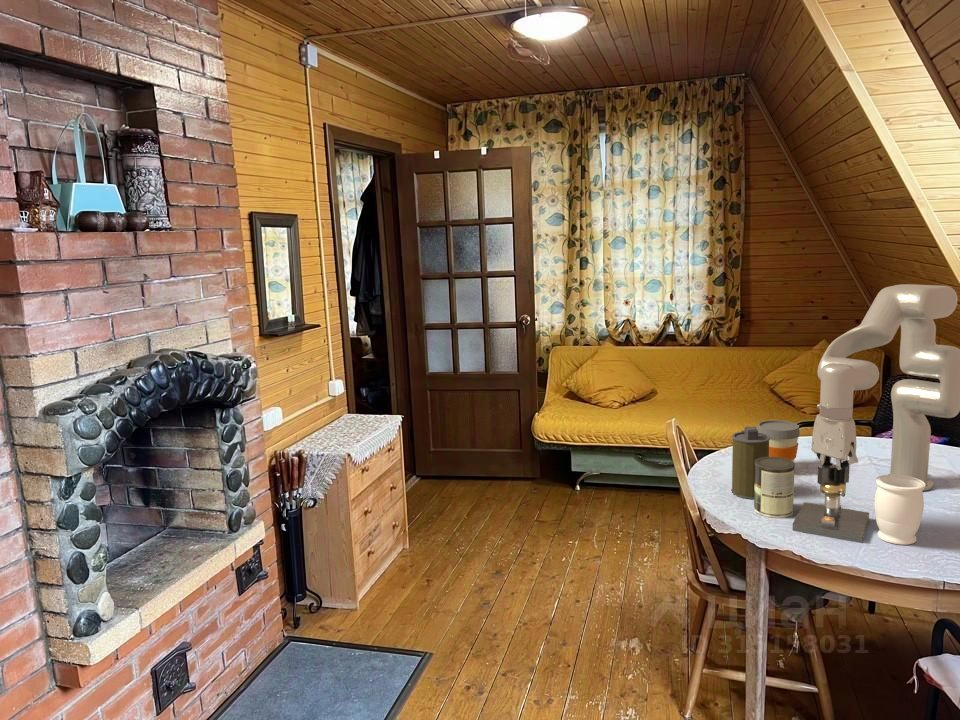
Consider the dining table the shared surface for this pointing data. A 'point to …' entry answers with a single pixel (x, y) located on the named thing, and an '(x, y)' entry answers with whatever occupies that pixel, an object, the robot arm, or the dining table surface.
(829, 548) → the dining table surface
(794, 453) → the reusable coffee cup
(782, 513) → the coffee can
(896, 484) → the jar
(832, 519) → the lever latch plate
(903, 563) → the dining table surface
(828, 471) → the latch lever
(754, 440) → the canister
